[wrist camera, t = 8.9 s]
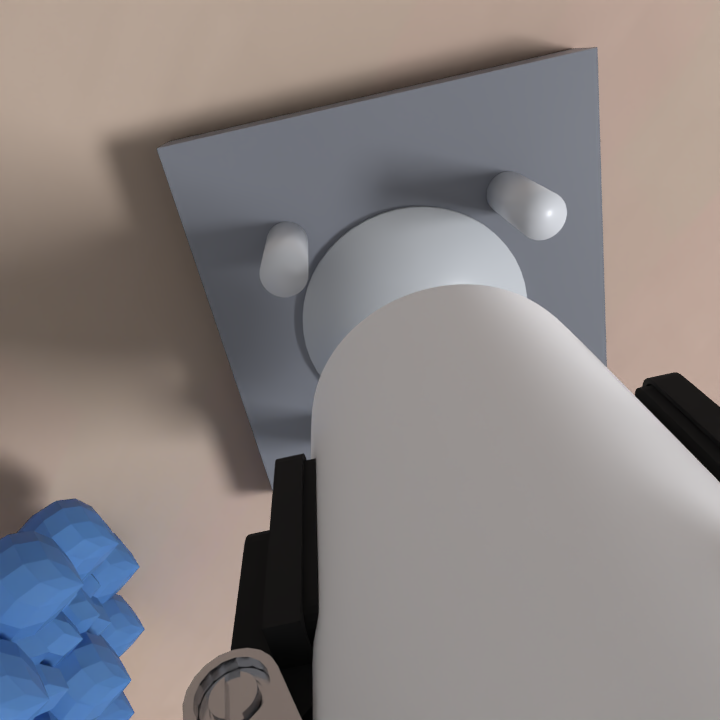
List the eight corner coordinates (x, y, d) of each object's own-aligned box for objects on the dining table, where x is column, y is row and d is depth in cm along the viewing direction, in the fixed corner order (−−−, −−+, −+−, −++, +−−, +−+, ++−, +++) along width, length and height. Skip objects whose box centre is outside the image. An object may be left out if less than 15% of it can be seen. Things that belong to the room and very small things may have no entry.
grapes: (-45, 413, 21) (-408, 778, 10) (158, 416, 22) (14, 761, 11) (15, 650, 26) (-189, 1061, 15) (178, 647, 27) (92, 1039, 16)
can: (561, 509, 16) (1063, 1391, 5) (315, 522, 16) (331, 1510, 5) (603, 272, 13) (1810, 1129, 3) (304, 280, 13) (289, 1348, 2)
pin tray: (168, 141, 18) (127, 165, 14) (575, 48, 18) (654, 44, 14) (283, 491, 24) (278, 580, 20) (591, 424, 23) (651, 500, 19)
